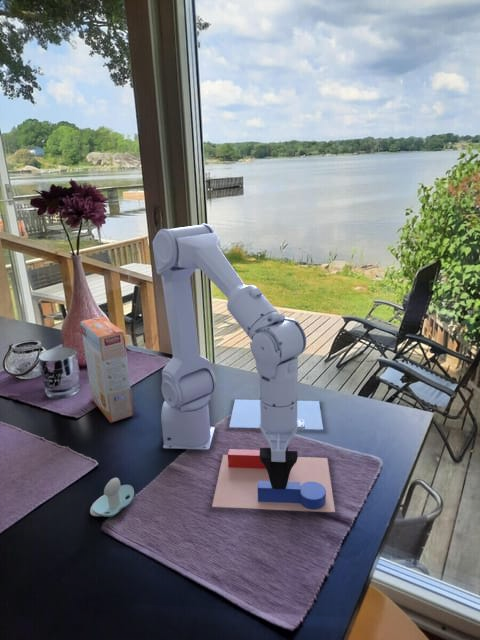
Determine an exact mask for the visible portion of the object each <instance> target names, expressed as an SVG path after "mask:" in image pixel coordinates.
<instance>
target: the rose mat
mask: <svg viewBox="0 0 480 640" xmlns="http://www.w3.org/2000/svg"><path fill="white" fill-rule="evenodd" d="M258 481H270V479H269V475H268V472H267V469H260V468H231V467H228V454H222V458H221V462H220V467H219V473H218V477H217V481H216V486H215V491H214V496H213V500H212V505H211V508H224V509H225V508H228V509H229V508H230V509H249V510H251V509H252V510H274V511H295V512H297V511H298V512H317V513H336V508H335V501H334V495H333V488H332V480H331V474H330V466H329V460H328V457H312V456H308V457H307V456H298V458H297V461H296V463H295V464H294V466H293V467H292V469H291V471H290V474H289V479H288V482H300V486H301V485H302V484H303V483H305V482H317V483H320V484H321V485H323V486H324V488H325V489H326V503H325V505H324V506H323V507H322V508H320V509H315V510H312V509H308V508H305V507H304V506H302V505H301V503H280V502H258Z"/></svg>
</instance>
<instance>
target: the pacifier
mask: <svg viewBox="0 0 480 640" xmlns="http://www.w3.org/2000/svg"><path fill="white" fill-rule="evenodd" d="M134 497H135V490H134V487H133V485H131V484H123V485H121V480H120V479H119V478H118V477H113V478H111V479H110V480H109V481H108V482H107V483H106V484H105V487H104V489H103V495H101V496H99V498H97V499H96V500H95V501H94V502H93V503H92V505H91V507H90V509H89V514H90V515H91V516H92V517H106V518H107V517H108V518H109V517H113V516H115V515H117V514H118V513H120V512H121V510H123V509H124V508H126V507H127V506H129V505H130V504H131V503H132V501H133V500H134Z"/></svg>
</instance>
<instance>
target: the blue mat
mask: <svg viewBox="0 0 480 640" xmlns="http://www.w3.org/2000/svg"><path fill="white" fill-rule="evenodd" d="M230 416H231V417H230V421H229V426H228V427H229V428H236V429H237V428H240V429H260V426H259V422H260V420H261V414H260V399H234V403H233V407H232V412H231V415H230ZM297 419H298V420H304V422H305V429H304V430H315V431H316V430H317V431H318V430H321V431H324V426H323V419H322V411H321V405H320V400H297Z"/></svg>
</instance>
